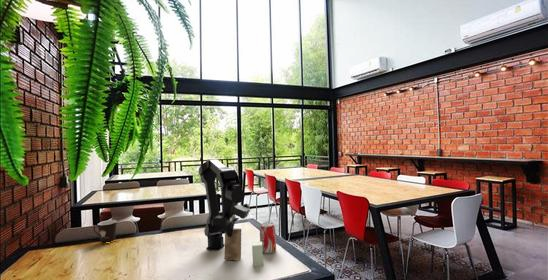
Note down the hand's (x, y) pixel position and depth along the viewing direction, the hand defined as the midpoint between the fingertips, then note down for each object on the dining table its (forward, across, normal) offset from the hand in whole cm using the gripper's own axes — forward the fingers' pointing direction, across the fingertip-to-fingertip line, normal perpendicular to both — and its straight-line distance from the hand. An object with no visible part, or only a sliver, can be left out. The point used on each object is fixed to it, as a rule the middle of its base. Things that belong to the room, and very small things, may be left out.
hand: (229, 236), depth 118 cm
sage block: (+10, 0, -12) cm, 16 cm away
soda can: (+10, +13, -12) cm, 20 cm away
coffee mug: (+10, +10, +77) cm, 78 cm away
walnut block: (+10, +2, 0) cm, 10 cm away
